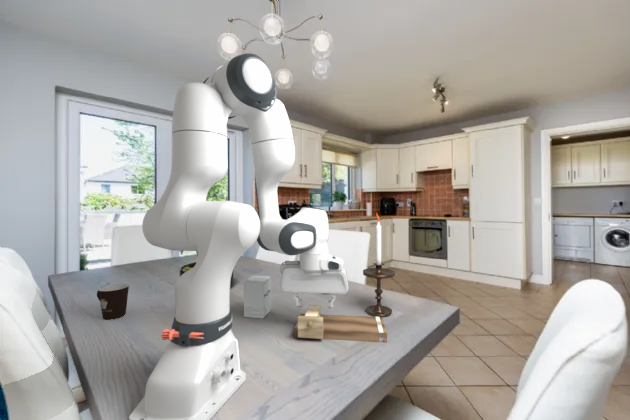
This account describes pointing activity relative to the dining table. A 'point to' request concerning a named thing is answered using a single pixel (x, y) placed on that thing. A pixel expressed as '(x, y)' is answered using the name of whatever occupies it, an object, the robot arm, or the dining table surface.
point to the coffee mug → (113, 300)
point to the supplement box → (257, 296)
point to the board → (352, 328)
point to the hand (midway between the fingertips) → (314, 306)
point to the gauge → (311, 323)
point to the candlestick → (378, 279)
